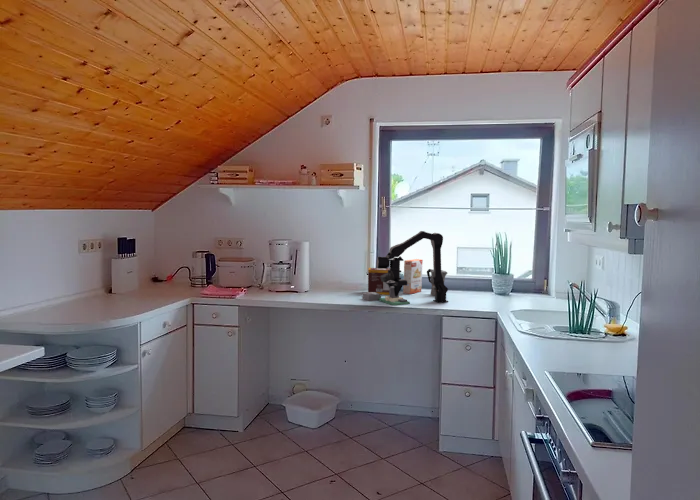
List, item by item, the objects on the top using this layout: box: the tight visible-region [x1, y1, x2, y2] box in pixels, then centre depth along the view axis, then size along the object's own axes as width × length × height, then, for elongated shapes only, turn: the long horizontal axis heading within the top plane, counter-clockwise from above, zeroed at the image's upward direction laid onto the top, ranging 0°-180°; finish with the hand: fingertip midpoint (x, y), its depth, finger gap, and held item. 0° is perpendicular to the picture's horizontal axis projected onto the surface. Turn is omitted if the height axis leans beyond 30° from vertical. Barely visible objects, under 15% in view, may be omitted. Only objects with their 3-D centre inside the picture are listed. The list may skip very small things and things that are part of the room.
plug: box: [388, 286, 400, 298], centre depth 288 cm, size 4×5×7 cm
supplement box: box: [367, 267, 390, 296], centre depth 316 cm, size 10×15×16 cm
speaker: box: [361, 291, 382, 302], centre depth 295 cm, size 8×8×4 cm
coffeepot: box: [426, 268, 448, 297], centre depth 313 cm, size 15×9×18 cm, turn 44°
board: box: [378, 295, 411, 306], centre depth 288 cm, size 16×11×3 cm
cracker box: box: [402, 258, 424, 295], centre depth 320 cm, size 14×6×21 cm, turn 143°
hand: (394, 295), depth 288 cm, fingers closed on plug, 4 cm apart
